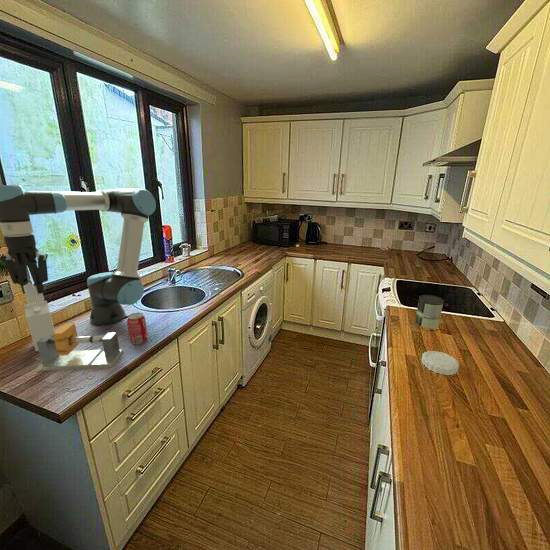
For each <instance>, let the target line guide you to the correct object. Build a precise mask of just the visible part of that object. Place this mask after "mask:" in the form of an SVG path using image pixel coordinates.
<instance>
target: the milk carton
mask: <svg viewBox="0 0 550 550" xmlns="http://www.w3.org/2000/svg"><path fill="white" fill-rule="evenodd" d="M23 307H24V312H25V319H26V322H27V325H28V328H29V332H30V335H31V339H32V343H33V346H34V347H33V348H34V351H35V352H39V349H38V345H37V341H39V340H40V339H41V338H43V337H44V336H45V335H53V333H54V332H56V331H55V327H54V324H53V320H52V315H51V312H50V307H49V304H48V301H47V300H44V301H42V302H41V303H37V302H32V303H30V304H28V303H27V304H23Z"/></svg>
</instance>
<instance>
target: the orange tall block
mask: <svg viewBox="0 0 550 550" xmlns="http://www.w3.org/2000/svg"><path fill="white" fill-rule="evenodd" d="M53 337H54V341H55V345H56V349H57V353H58V356H63V355H68V354H69V353H70V352H71V351H74V349H76V348H77V347H78V346H79V345H80V343H70V344H69V342H68V338H69V337H79V336H78V331H77V326H76V324H75V323H73V322H71V323H69V322H68V323H65V324H64V325H62V326H61V327H60V328H58V329H57V330H56V331H55V332H54V333H53Z"/></svg>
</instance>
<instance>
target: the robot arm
mask: <svg viewBox="0 0 550 550" xmlns="http://www.w3.org/2000/svg"><path fill="white" fill-rule="evenodd" d="M23 188H24V187H23V186H22V185H19V184H18V185H17V184H15V185H14V184H11V185H9V184H8V185H7V184H6V185H4V184H0V229H1V232H2V235H3V236H4V237H3V240H4V245H5V247H6V248H7V253H6V254H4V255H0V259H1V261H2V262H3V263H4V265H5V267H6V270H7V272H8V274H9V276H10V279H11V282H12V283H13V284H15V285H17V284H18V285H19V286H20V287H21V291H22V294H23V295H25V299H26V302H27V304H32V303H41V302H42V301H45V297H44V294H43V293H44V292H45V289H44V283H45V282H48V281H49V276H48V275H49V274H48V264H47V263H48V262H47V261H48V260H47V259H48V257H49V255H48V254H47V253H41V252H40V251H39V249H37V247H36V246H37V242H36V238H35V235H34V234H33V233H34V229H33V226H32V221H31V218H30V216H33V215H48V214H59V213H64V212H66V211H68V212H69V211H70V212H71V211H95V210H96V211H97V210H99V211H100V212H103V213H104V212H107V213H109V212H110V213H111V212H112V213H113V212H114V213H118V214H120V216H121V217H122V218H123V225H122V231H121V239H120V244H119V245H120V246H119V251H118V252H119V254H118V258H117V259H118V260H117V266H116V270H115V271H114V272H113V271H108V272H101V273H100V272H99V273H97V274H93V275H90V276H89V277H87V279H86V282H87V284H86V285H87V288H88V293H89V297H90V301H91V310H90V317H89V319H90V323H91V324H92V325H94V326H106V325H111V324H115V323H117V322H120V321H122V320H123V319H125V317H126V311H125V309H124V307H123V305H126V306H127V305H128V306H131V305H135V304H136V303H138V302H139V301H140V300H141V299H142V297H143V296H144V292H145V287H144V285H143V282H141V281H140V280H141V275H139V274H138V270H139V269H138V268H139V263H140V255H141V248H142V242H143V235H144V228H145V223H147V222H148V221H149V219H150V218H149V217H150V215H152V214H153V213H155V211H156V209H157V206H156V205H157V204H156V203H157V202H156V199H155V197H154V195H153V194H152V193H151V192H150V190H147V189H145V188H139V187H136V188H115V189H113V188H112V189H101V190H97V191H91V192H89V191H88V192H87V191H82V192H81V191H53V190H48V191H47V190H45V191H44V190H43V191H41V190H24V189H23ZM27 268H28V271H29V273H30V275H31V279H32V281H33V284H32V282H31V281H30V280H29V276H28V271H27Z"/></svg>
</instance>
